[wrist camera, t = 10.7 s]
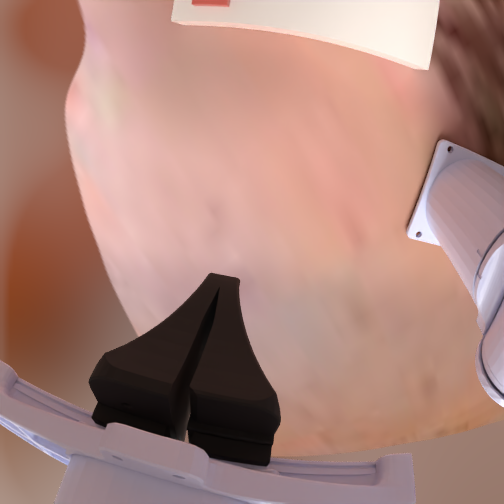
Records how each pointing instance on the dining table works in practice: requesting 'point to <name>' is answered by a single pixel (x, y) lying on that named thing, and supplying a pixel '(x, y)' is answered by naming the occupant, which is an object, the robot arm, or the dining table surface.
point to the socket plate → (329, 23)
